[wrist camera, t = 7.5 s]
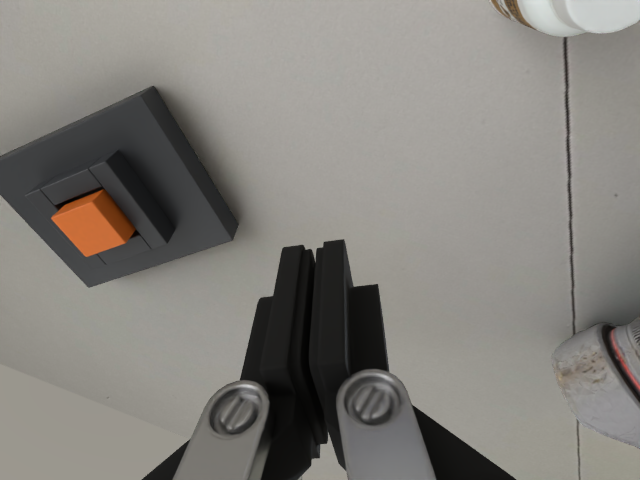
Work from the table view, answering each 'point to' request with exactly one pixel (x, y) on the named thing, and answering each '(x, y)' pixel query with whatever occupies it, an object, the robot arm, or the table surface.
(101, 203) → the key
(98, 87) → the table surface
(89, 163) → the dark grey flat block
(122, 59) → the table surface
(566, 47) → the table surface
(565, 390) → the camera
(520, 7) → the pill bottle
